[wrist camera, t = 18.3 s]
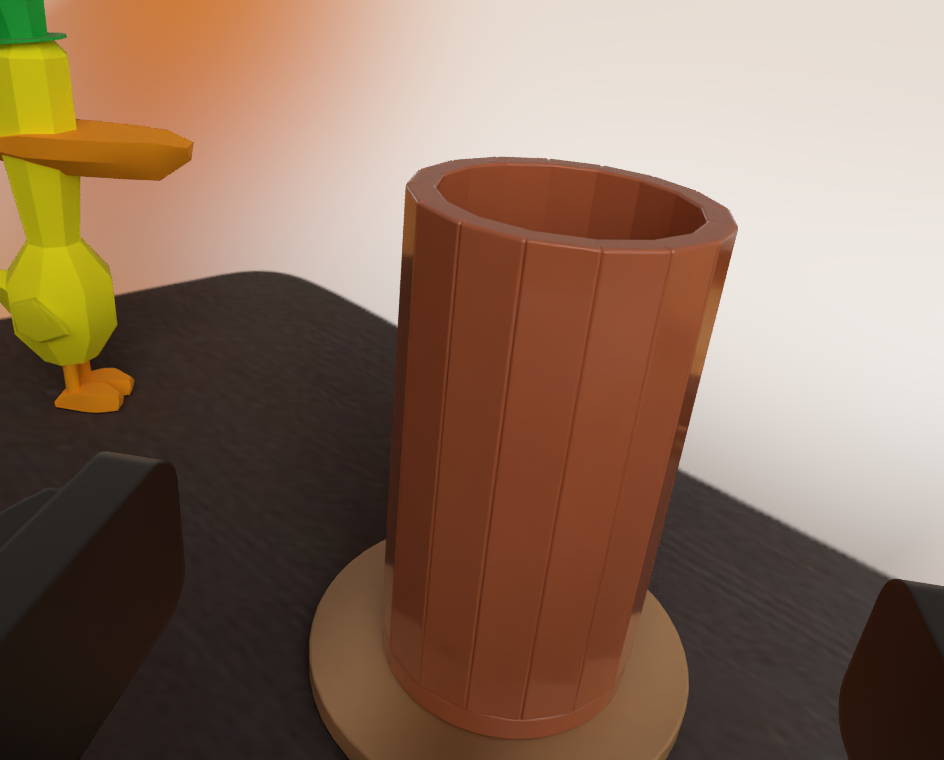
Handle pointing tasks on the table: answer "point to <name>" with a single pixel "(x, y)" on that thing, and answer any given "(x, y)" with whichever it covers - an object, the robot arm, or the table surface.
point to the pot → (538, 428)
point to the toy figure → (64, 206)
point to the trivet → (457, 750)
